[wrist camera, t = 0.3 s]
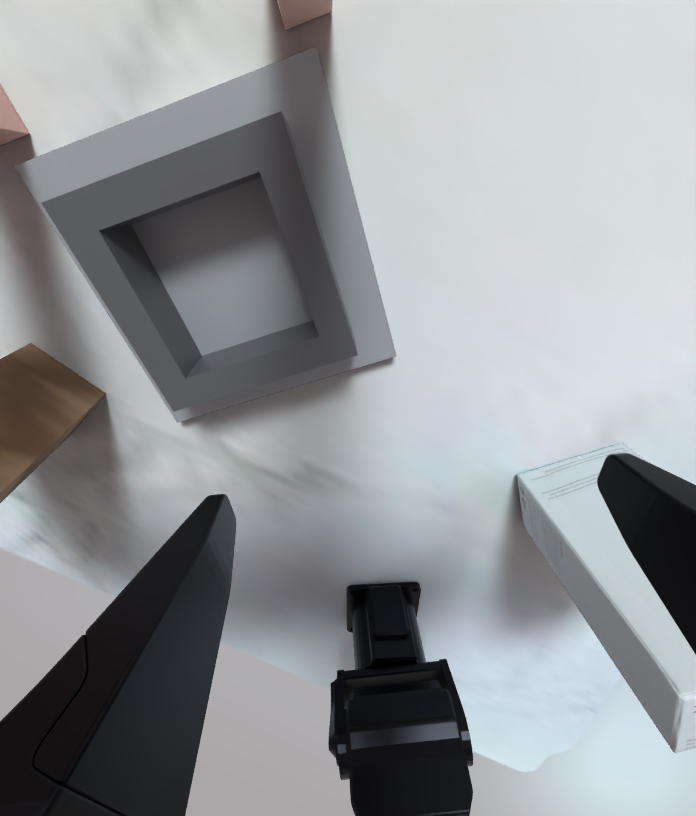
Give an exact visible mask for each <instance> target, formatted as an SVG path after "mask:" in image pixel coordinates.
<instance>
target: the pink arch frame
mask: <svg viewBox="0 0 696 816" xmlns="http://www.w3.org/2000/svg"><path fill="white" fill-rule="evenodd" d="M277 3H278V7H279V10H280V14H281V17H282V21H283V24H284V28H285V30H287V29H290V28H292V27H294V26H297V25H299V24H302V23H304V22H307V21H309V20H312V19H314V18H317V17H319V16H322V15H324V14H327V13H329V12H332V0H277ZM27 134H29V132H28V130H27V129H26V127H25V125H24V124H23V122H22V120H21V119H20V117H19V115H18V114H17V112H16V110H15V109H14V107H13V105H12V104H11V102H10V100H9V99H8V97H7V95H6V94H5V92H4V90H3V89H2V87H1V85H0V145H3V144H5V143H8V142H10V141H13V140H15V139H17V138H20V137H22V136H25V135H27Z"/></svg>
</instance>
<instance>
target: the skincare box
mask: <svg viewBox="0 0 696 816" xmlns="http://www.w3.org/2000/svg"><path fill="white" fill-rule="evenodd" d="M617 453H629V454H632V455H634V456H636V457H638V458H640V459H642V460H644V461H646V460H645V459H644V458H643V457H641V456H640V455H639V454H637V453H636V452H635V451H633V450H632V449H631V448H630V447H628V446H627V445H626V444H625V443H620V444H616V445H613V446H610V447H607V448H604V449H601V450H597V451H594V452H591V453H587V454H584V455H581V456H577V457H574V458H571V459H567V460H564V461H561V462H558V463H554V464H551V465H548V466H544V467H541V468H538V469H535V470H531V471H528V472H524V473H521V474H518V475H517V479H518V487H519V493H520V501H521V510H522V518H523V522H524V527H525V529H526V530H527V532H528V533H529V535H530V536H531V538H532V539H533V541H534V543H535V544H536V546H537V547H538V549H539V550H540V552H541V553H542V555H543V556H544V558H545V559H546V561H547V562H548V564H549V565H550V567H551V568H552V570H553V571H554V573H555V574H556V576H557V577H558V579H559V580H560V582H561V583H562V585H563V586H564V588H565V589H566V591H567V592H568V594H569V595H570V597H571V598H572V600H573V601H574V603H575V604H576V606H577V607H578V609H579V610H580V612H581V614H582V615H583V617H584V618H585V620H586V621H587V623H588V624H589V626H590V627H591V629H592V630H593V632H594V633H595V635H596V636H597V638H598V639H599V641H600V642H601V644H602V646H603V647H604V649H605V650H606V652H607V653H608V655H609V656H610V658H611V659H612V661H613V662H614V664H615V665H616V667H617V668H618V670H619V671H620V673H621V674H622V676H623V677H624V679H625V680H626V682H627V683H628V685H629V686H630V688H631V689H632V691H633V692H634V694H635V695H636V697H637V698H638V700H639V701H640V703H641V704H642V706H643V707H644V709H645V710H646V712H647V713H648V715H649V716H650V718H651V719H652V721H653V722H654V724H655V725H656V727H657V728H658V730H659V731H660V733H661V734H662V736H663V737H664V739H665V740H666V742H667V743H668V745H669V746H670V748H671V749H672V751H673V752H674V753H678V752H682V751H685V750H690V749H694V748H696V655H695V653H694V651H693V650H692V648H691V647H690V645H689V644H688V642H687V640H686V639H685V637H684V636H683V634H682V632H681V631H680V629H679V628H678V626H677V625H676V623H675V621H674V620H673V618H672V617H671V615H670V613H669V612H668V610H667V609H666V607H665V606H664V604H663V602H662V601H661V599H660V598H659V596H658V595H657V593H656V591H655V590H654V588H653V587H652V585H651V583H650V582H649V580H648V579H647V577H646V576H645V574H644V572H643V571H642V569H641V568H640V566H639V564H638V563H637V561H636V560H635V558H634V557H633V555H632V553H631V552H630V550H629V548H628V546H627V545H626V543H625V541H624V539H623V537H622V535H621V533H620V531H619V529H618V527H617V525H616V523H615V521H614V519H613V517H612V515H611V513H610V511H609V509H608V507H607V505H606V503H605V501H604V499H603V497H602V495H601V493H600V491H599V489H598V486H597V478H598V476H599V473H600V471H601V468H602V466H603V463H604V461H605V459H606V457H607V456H608V455H610V454H617ZM646 462H648V461H646ZM648 463H649V462H648Z"/></svg>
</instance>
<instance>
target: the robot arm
mask: <svg viewBox="0 0 696 816" xmlns="http://www.w3.org/2000/svg"><path fill="white" fill-rule="evenodd" d="M597 486H598V489H599V491H600V493H601V495H602V497H603V499H604V501H605V503H606V505H607V507H608V509H609V511H610V513H611V515H612V517H613V519H614V521H615V523H616V525H617V527H618V529H619V531H620V533H621V535H622V537H623V539H624V541H625V543H626V545H627V546H628V548H629V550H630V552H631V553H632V555H633V557H634V558H635V560H636V561H637V563H638V564H639V566H640V568H641V569H642V571H643V572H644V574H645V576H646V577H647V579H648V580H649V582H650V583H651V585H652V587H653V588H654V590H655V591H656V593H657V595H658V596H659V598H660V599H661V601H662V602H663V604H664V606H665V607H666V609H667V610H668V612H669V613H670V615H671V617H672V618H673V620H674V621H675V623H676V625H677V626H678V628H679V629H680V631H681V632H682V634H683V636H684V637H685V639H686V640H687V642H688V644H689V645H690V647H691V648H692V650H693V651H694V653H695V655H696V485H694V484H692V483H690V482H688V481H686V480H684V479H682V478H680V477H678V476H676V475H673V474H671V473H669V472H667V471H665V470H663V469H661V468H659V467H657V466H655V465H653V464H651V463H648V462H646V461H644V460H642V459H640V458H638V457H636V456H634V455H632V454H629V453H617V454H610V455H608V456H607V457H606V459H605V461H604V463H603V466H602V468H601V471H600V473H599V476H598V478H597ZM235 533H236V518H235V515H234V512H233V509H232V507H231V504H230V501H229V499H228V497H227V495H225V494H218V495H210V496H208V497H206V498H205V499H204V500H203V502H202V503H201V504H200V505H199V506H198V507H197V508H196V509H195V510H194V512H193V513H192V514H191V515H190V516H189V517H188V518H187V519H186V520H185V522H184V523H183V524H182V525H181V526H180V527H179V528H178V529H177V530H176V532H175V533H174V534H173V535H172V536H171V537H170V538H169V539H168V540H167V542H166V543H165V544H164V545H163V546H162V547H161V548H160V549H159V551H158V552H157V553H156V554H155V555H154V556H153V557H152V558H151V559H150V561H149V562H148V563H147V564H146V565H145V566H144V567H143V568H142V569H141V571H140V572H139V573H138V574H137V575H136V576H135V577H134V578H133V579H132V581H131V582H130V583H129V584H128V585H127V586H126V587H125V588H124V589H123V591H122V592H121V593H120V594H119V595H118V596H117V597H116V598H115V600H114V601H113V602H112V603H111V604H110V605H109V606H108V607H107V608H106V610H105V611H104V612H103V613H102V614H101V615H100V616H99V617H98V618H97V620H96V621H95V622H94V623H93V624H92V625H91V626H90V627H89V628H88V630H87V631H86V635H82V636H81V637H80V638H79V639H78V641H77V642H76V643H75V644H74V645H73V646H72V647H71V649H69V651H68V652H67V653H66V654H65V655H64V656H63V657H62V658H61V659H60V660H59V661H58V662H57V664H56V665H55V666H54V667H53V668H52V669H51V670H50V671H49V672H48V673H47V674H46V676H45V677H44V678H43V679H42V680H41V681H40V682H39V683H38V684H37V685H36V686H35V687H34V688H33V689H32V690H31V691H30V692H29V693H28V694H27V695H26V696H25V697H24V698H23V699H22V700H21V701H20V702H19V703H18V704H17V705H16V706H15V707H14V708H13V709H12V710H11V711H10V712H9V713H8V714H7V715H6V716H5V717H4V718H3V719H2V720H1V721H0V816H185V813H186V808H187V803H188V798H189V793H190V788H191V783H192V778H193V773H194V768H195V763H196V758H197V753H198V749H199V744H200V739H201V734H202V729H203V724H204V719H205V714H206V709H207V704H208V699H209V694H210V689H211V684H212V679H213V674H214V669H215V664H216V659H217V654H218V649H219V644H220V639H221V635H222V630H223V625H224V620H225V615H226V610H227V605H228V600H229V594H230V588H231V579H232V568H233V556H234V545H235ZM420 591H421V588H420V584H419V583H417V582H409V583H389V584H369V585H352V586H349V587H348V588H347V630H348V631H349V632H353V641H354V656H355V670H349V671H344V670H337V679H336V680H335V681H334V682H332V683H331V716H330V728H329V751H330V752H331V753H332V754H333V755H334V757H336V760H337V766H339V771H340V778H341V780H346V779H349V778H350V794H351V804H352V808H353V811H354V814H355V816H469V814H470V808H471V802H472V795H473V790H472V784H471V779H470V775H469V770H468V766H472V765H473V753H472V746H471V739H470V734H469V730H468V725H467V721H466V717H465V714H464V711H463V707H462V704H461V701H460V698H459V695H458V693H457V690H456V687H455V684H454V681H453V678H452V675H451V672H450V669H449V666H448V663H447V660H446V659H440V660H439V661H434V662H426V660H425V656H424V651H423V647H422V642H421V637H420V633H419V628H418V623H417V619H416V618H417V611H418V604H419V598H420Z"/></svg>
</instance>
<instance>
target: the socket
mask: <svg viewBox="0 0 696 816" xmlns="http://www.w3.org/2000/svg"><path fill="white" fill-rule="evenodd" d="M14 168H15V170H16V171H17V173H18V174H19V176H20V177H21V179H22V180H23V182H24V184H25V185H26V187H27V188H28V190H29V191H30V193H31V195H32V196H33V198H34V199H35V201H36V202H37V204H38V205H39V207H40V209H41V210H42V212H43V213H44V215H45V216H46V218H47V220H48V221H49V223H50V224H51V226H52V227H53V229H54V230H55V232H56V234H57V235H58V237H59V238H60V240H61V241H62V243H63V245H64V246H65V248H66V249H67V251H68V252H69V254H70V255H71V257H72V259H73V260H74V262H75V263H76V265H77V266H78V268H79V270H80V271H81V273H82V274H83V276H84V277H85V279H86V281H87V282H88V284H89V285H90V287H91V288H92V290H93V291H94V293H95V295H96V296H97V298H98V299H99V301H100V302H101V304H102V306H103V307H104V309H105V310H106V312H107V313H108V315H109V316H110V318H111V320H112V321H113V323H114V324H115V326H116V327H117V329H118V331H119V332H120V334H121V335H122V337H123V338H124V340H125V341H126V343H127V345H128V346H129V348H130V349H131V351H132V352H133V354H134V356H135V357H136V359H137V360H138V362H139V363H140V365H141V366H142V368H143V370H144V371H145V373H146V374H147V376H148V377H149V379H150V381H151V382H152V384H153V385H154V387H155V388H156V390H157V392H158V393H159V395H160V396H161V398H162V399H163V401H164V402H165V404H166V406H167V407H168V409H169V410H170V412H171V413H172V415H173V417H174V418H175V420H176V421H177V423H178V422H181V421H185V420H188V419H191V418H194V417H198V416H201V415H204V414H208V413H211V412H214V411H217V410H221V409H224V408H227V407H231V406H234V405H237V404H241V403H244V402H247V401H250V400H254V399H257V398H260V397H264V396H267V395H270V394H273V393H277V392H280V391H283V390H287V389H290V388H293V387H297V386H300V385H303V384H306V383H310V382H313V381H316V380H320V379H323V378H326V377H329V376H333V375H336V374H339V373H343V372H346V371H349V370H352V369H356V368H359V367H362V366H366V365H369V364H372V363H376V362H379V361H382V360H385V359H389V358H392V357H395V356H396V352H395V349H394V345H393V341H392V337H391V333H390V329H389V325H388V322H387V318H386V314H385V310H384V306H383V302H382V298H381V294H380V291H379V287H378V283H377V279H376V275H375V271H374V267H373V264H372V260H371V256H370V252H369V248H368V244H367V240H366V237H365V233H364V229H363V225H362V221H361V217H360V213H359V209H358V206H357V202H356V198H355V194H354V190H353V186H352V182H351V179H350V175H349V171H348V167H347V163H346V159H345V155H344V152H343V148H342V144H341V140H340V136H339V132H338V128H337V124H336V121H335V117H334V113H333V109H332V105H331V101H330V97H329V94H328V90H327V86H326V82H325V78H324V74H323V70H322V66H321V63H320V59H319V55H318V51H317V47H313V48H311V49H308V50H305V51H303V52H300V53H298V54H295V55H293V56H290V57H288V58H285V59H283V60H280V61H278V62H275V63H273V64H270V65H268V66H265V67H263V68H260V69H258V70H255V71H253V72H250V73H247V74H245V75H242V76H240V77H237V78H235V79H232V80H230V81H227V82H225V83H222V84H220V85H217V86H215V87H212V88H210V89H207V90H205V91H202V92H200V93H197V94H194V95H192V96H189V97H187V98H184V99H182V100H179V101H177V102H174V103H172V104H169V105H167V106H164V107H162V108H159V109H157V110H154V111H152V112H149V113H147V114H144V115H142V116H139V117H136V118H134V119H131V120H129V121H126V122H124V123H121V124H119V125H116V126H114V127H111V128H109V129H106V130H104V131H101V132H99V133H96V134H94V135H91V136H89V137H86V138H83V139H81V140H78V141H76V142H73V143H71V144H68V145H66V146H63V147H61V148H58V149H56V150H53V151H51V152H48V153H46V154H43V155H41V156H38V157H36V158H33V159H31V160H28V161H25V162H23V163H20V164H18V165H15V166H14Z"/></svg>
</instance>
